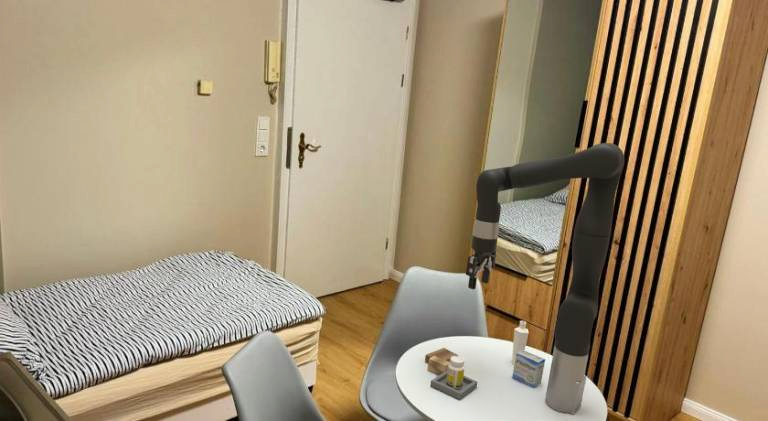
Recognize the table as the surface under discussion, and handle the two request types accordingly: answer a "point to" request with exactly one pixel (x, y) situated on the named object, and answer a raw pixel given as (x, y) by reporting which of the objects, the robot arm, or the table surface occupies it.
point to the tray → (460, 393)
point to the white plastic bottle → (519, 339)
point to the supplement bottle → (455, 372)
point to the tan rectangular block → (437, 365)
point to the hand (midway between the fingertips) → (478, 285)
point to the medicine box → (528, 368)
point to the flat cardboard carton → (440, 355)
